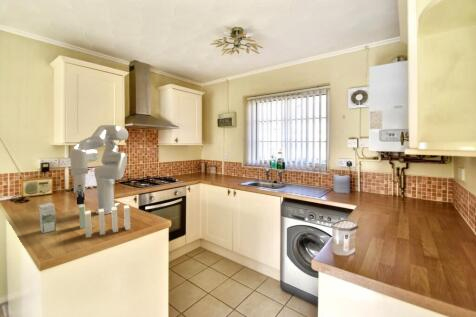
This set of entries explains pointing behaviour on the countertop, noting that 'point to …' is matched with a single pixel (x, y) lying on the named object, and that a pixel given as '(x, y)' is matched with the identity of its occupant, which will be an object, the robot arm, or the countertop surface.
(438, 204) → the countertop surface
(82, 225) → the sage domino
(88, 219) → the domino
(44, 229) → the syrup box
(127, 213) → the domino
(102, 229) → the domino
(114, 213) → the domino
